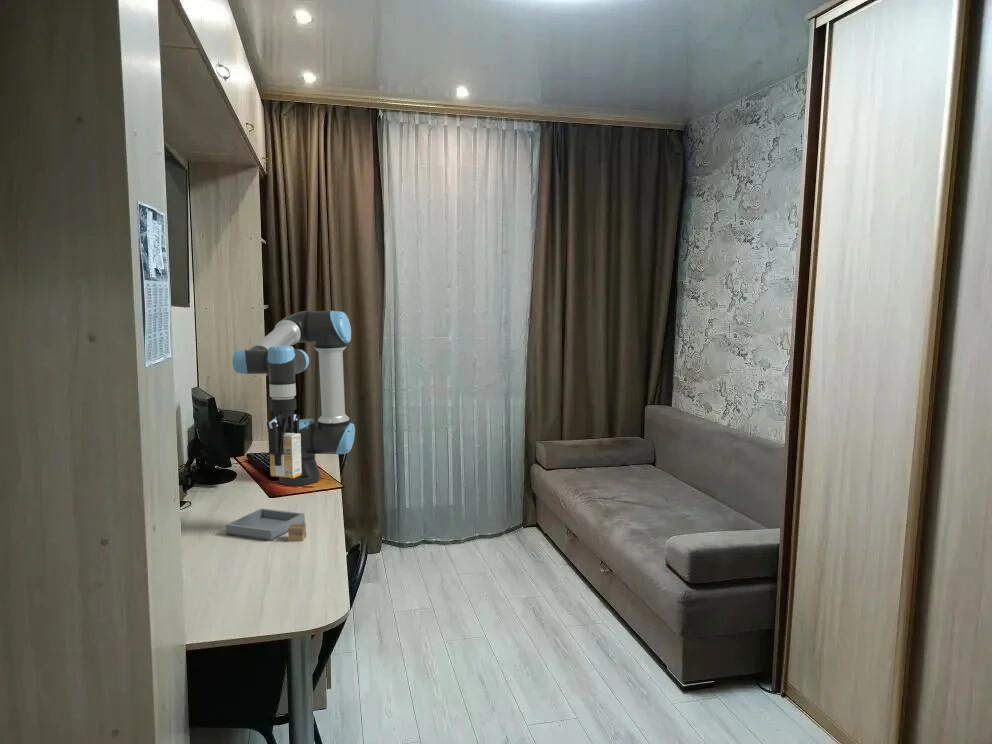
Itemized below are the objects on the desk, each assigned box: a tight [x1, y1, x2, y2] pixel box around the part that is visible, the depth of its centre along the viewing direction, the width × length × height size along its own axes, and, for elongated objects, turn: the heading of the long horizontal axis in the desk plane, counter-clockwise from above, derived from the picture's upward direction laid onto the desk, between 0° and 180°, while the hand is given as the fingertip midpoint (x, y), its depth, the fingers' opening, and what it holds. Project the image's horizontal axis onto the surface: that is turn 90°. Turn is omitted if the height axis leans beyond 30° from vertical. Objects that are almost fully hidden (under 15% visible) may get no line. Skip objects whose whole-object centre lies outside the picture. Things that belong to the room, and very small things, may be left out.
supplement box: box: [269, 433, 302, 478], centre depth 199 cm, size 8×5×13 cm, turn 72°
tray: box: [225, 508, 305, 542], centre depth 199 cm, size 16×16×3 cm
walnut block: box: [287, 523, 307, 542], centre depth 191 cm, size 4×4×4 cm
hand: (285, 473), depth 199 cm, fingers closed on supplement box, 5 cm apart
